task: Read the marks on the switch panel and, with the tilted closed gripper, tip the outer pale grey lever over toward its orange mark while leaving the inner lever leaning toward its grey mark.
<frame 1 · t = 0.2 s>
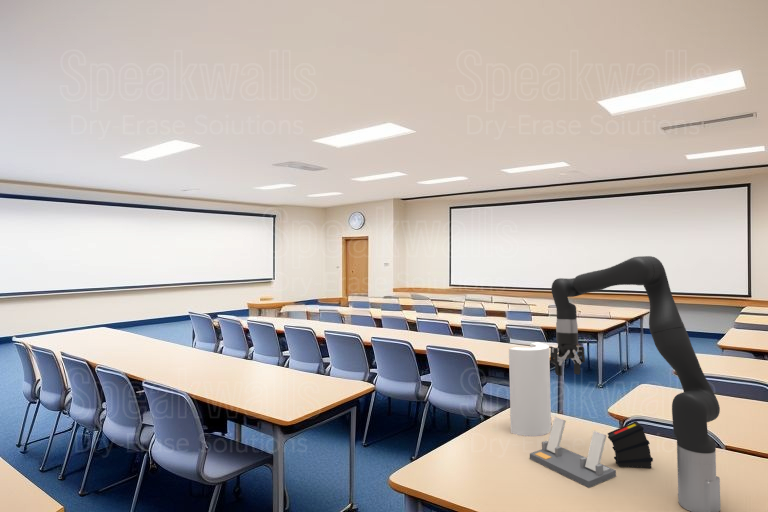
hand: (568, 374, 168), 29 cm above the table, tool pointing down, fingers open, 8 cm apart
outer lever: (556, 434, 163), point 8 cm above the table, hinge at 24.0°
inner lever: (595, 450, 149), point 8 cm above the table, hinge at 24.0°
switch panel: (570, 467, 155), on the table
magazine: (630, 466, 155), on the table
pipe: (535, 430, 189), on the table
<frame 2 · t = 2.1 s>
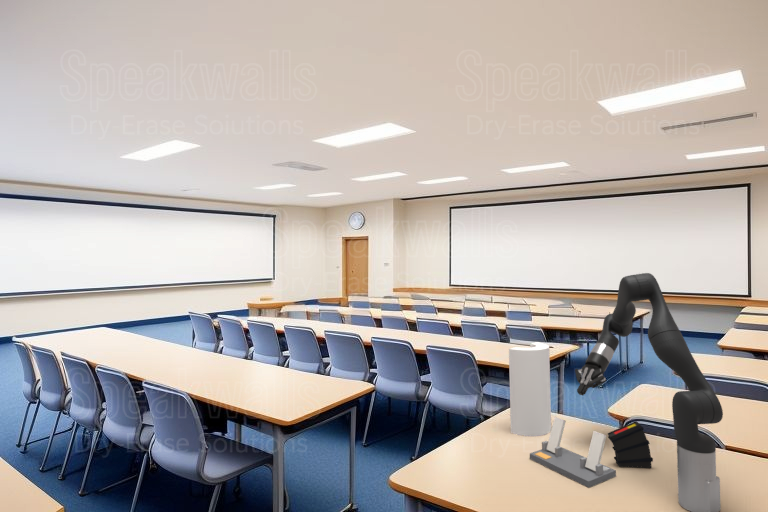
hand: (580, 393, 170), 21 cm above the table, tool tilted 45°, fingers closed
nothing on the table moved.
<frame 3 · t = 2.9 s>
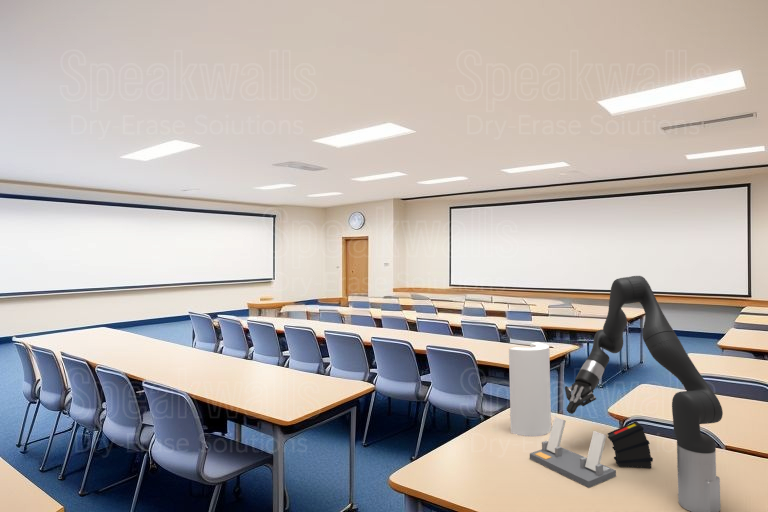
hand: (569, 412, 167), 15 cm above the table, tool tilted 45°, fingers closed
nothing on the table moved.
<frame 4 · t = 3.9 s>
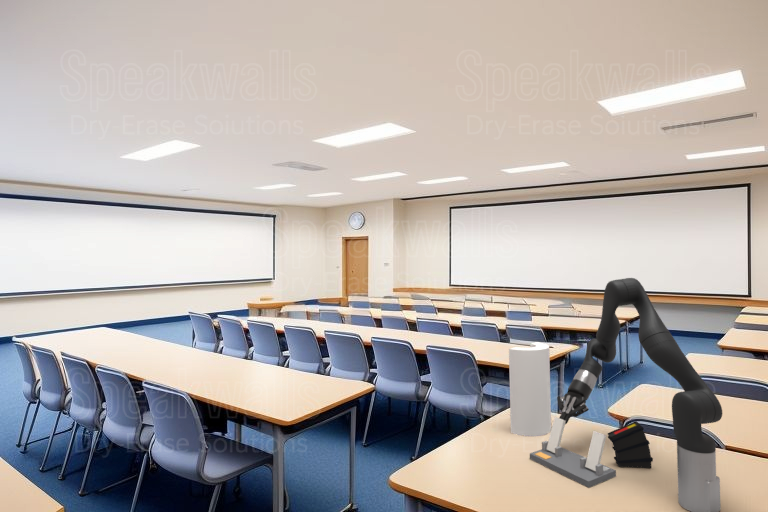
hand: (561, 423, 165), 12 cm above the table, tool tilted 45°, fingers closed
outer lever: (556, 434, 163), point 8 cm above the table, hinge at 24.0°, touching gripper
everything else where it was.
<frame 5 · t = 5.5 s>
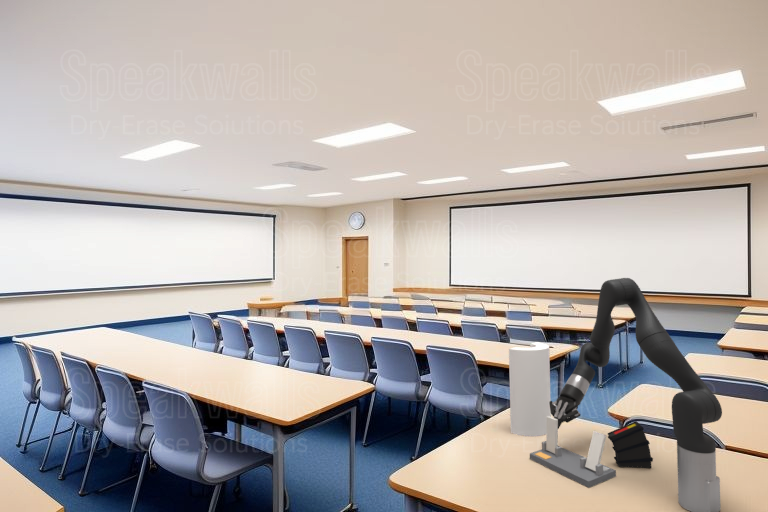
hand: (553, 428, 163), 10 cm above the table, tool tilted 45°, fingers closed
outer lever: (552, 434, 162), point 8 cm above the table, hinge at 2.7°, touching gripper
everything else where it was.
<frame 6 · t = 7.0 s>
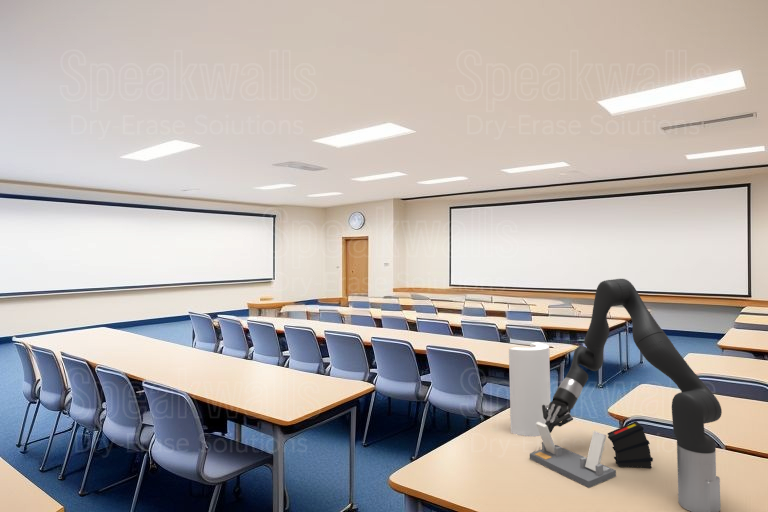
hand: (545, 432, 161), 10 cm above the table, tool tilted 45°, fingers closed
outer lever: (546, 438, 161), point 8 cm above the table, hinge at -25.2°, touching gripper
everything else where it was.
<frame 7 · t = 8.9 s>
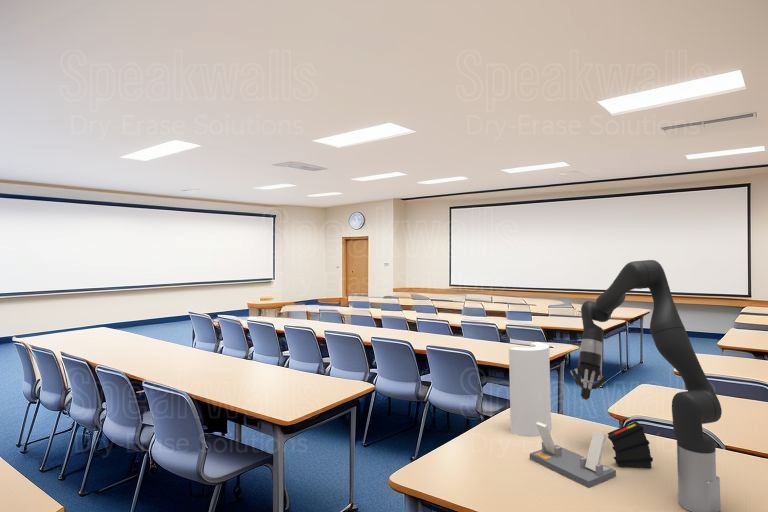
hand: (584, 399, 165), 20 cm above the table, tool tilted 25°, fingers closed
outer lever: (546, 438, 161), point 8 cm above the table, hinge at -25.2°
everything else where it was.
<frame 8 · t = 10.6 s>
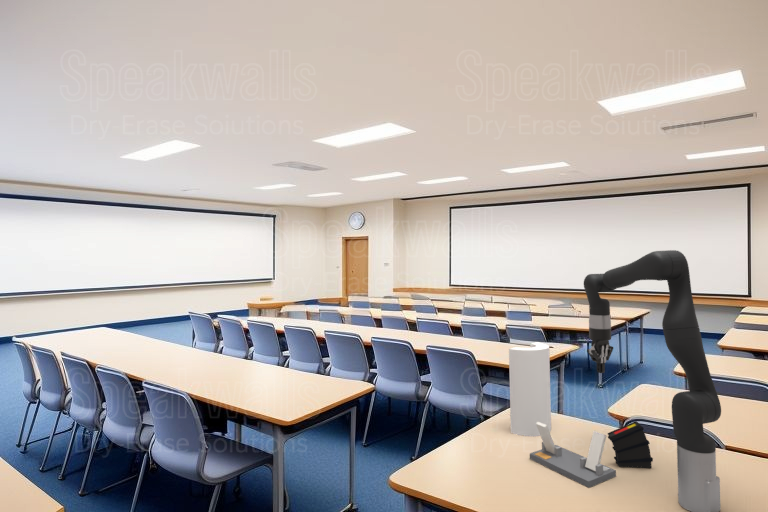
hand: (600, 372, 168), 29 cm above the table, tool pointing down, fingers closed
nothing on the table moved.
at the end: outer lever at -25° (first picture: +24°); inner lever at +24° (first picture: +24°) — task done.
